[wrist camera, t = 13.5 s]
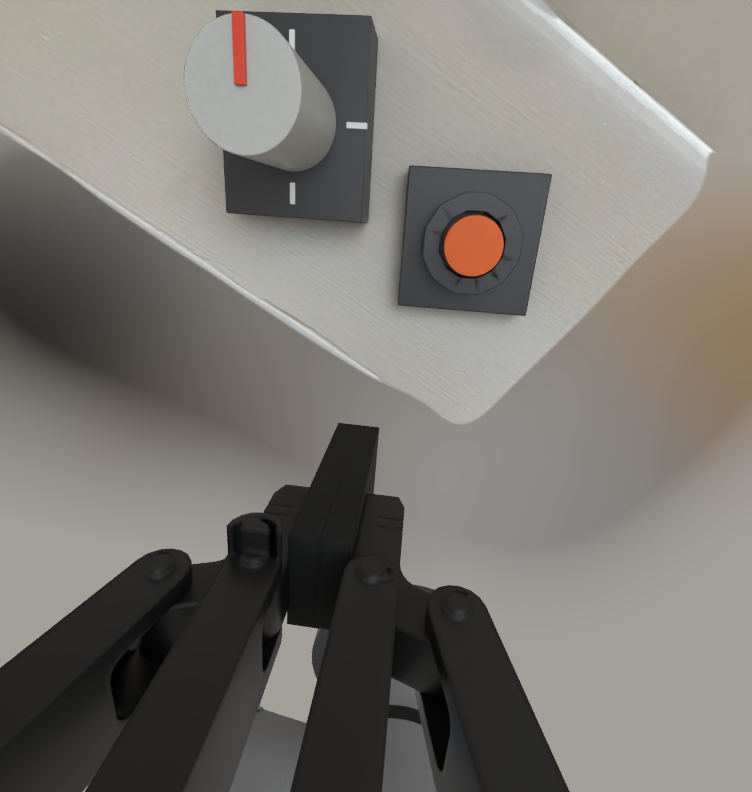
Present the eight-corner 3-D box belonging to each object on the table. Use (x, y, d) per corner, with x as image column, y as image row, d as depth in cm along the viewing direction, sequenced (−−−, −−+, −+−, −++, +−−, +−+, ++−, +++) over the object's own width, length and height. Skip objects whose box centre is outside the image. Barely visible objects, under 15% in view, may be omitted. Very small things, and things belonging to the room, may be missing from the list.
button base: (520, 310, 38) (530, 320, 34) (399, 300, 38) (396, 309, 35) (544, 176, 34) (559, 171, 30) (410, 168, 35) (408, 162, 31)
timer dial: (334, 174, 32) (299, 159, 23) (250, 168, 32) (185, 151, 24) (338, 71, 30) (300, 12, 21) (247, 66, 30) (174, 6, 21)
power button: (495, 275, 33) (498, 278, 32) (440, 271, 34) (441, 274, 32) (504, 217, 32) (508, 217, 30) (447, 213, 32) (447, 212, 31)
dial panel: (369, 221, 36) (362, 222, 33) (245, 213, 37) (224, 212, 33) (379, 38, 32) (372, 14, 28) (238, 33, 33) (212, 8, 29)
